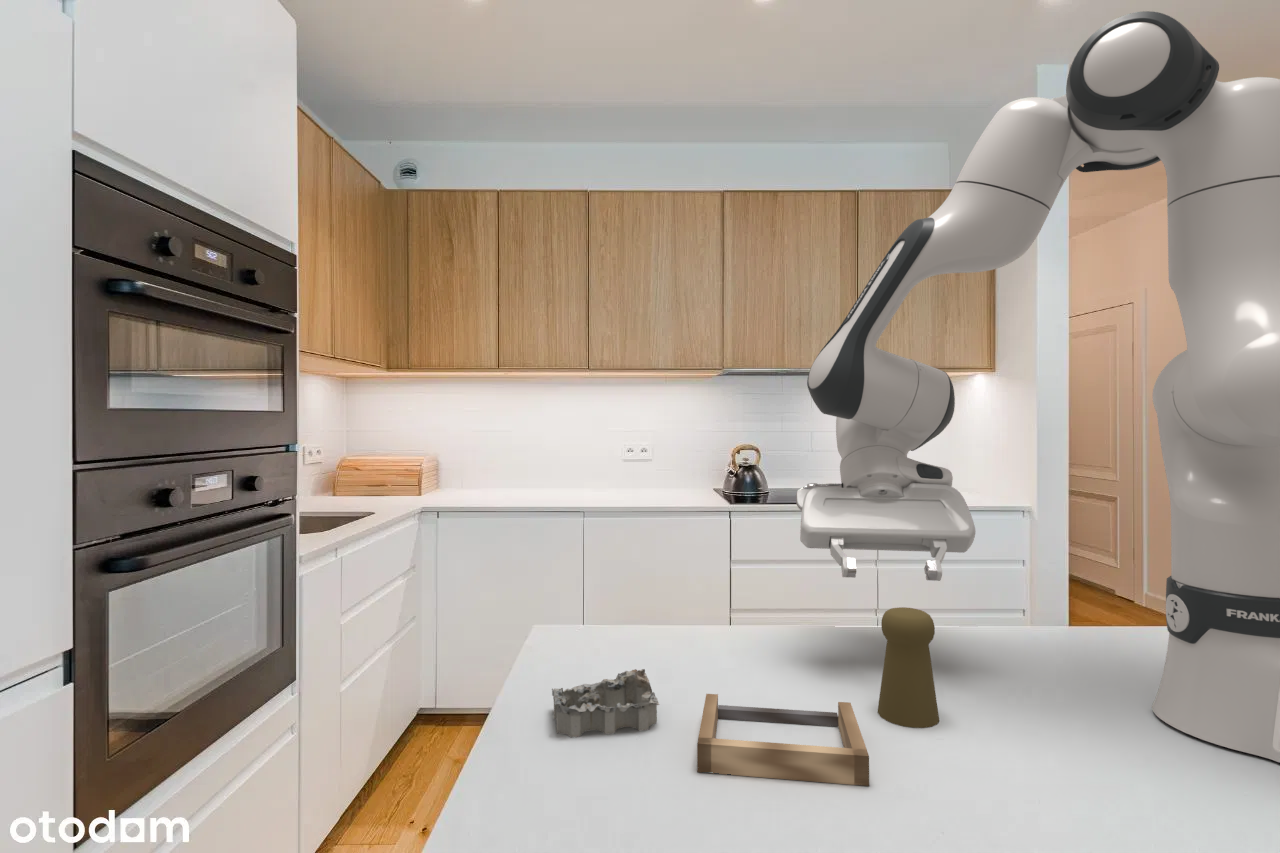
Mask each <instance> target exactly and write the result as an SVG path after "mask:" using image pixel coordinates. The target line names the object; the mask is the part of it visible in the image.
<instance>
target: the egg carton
mask: <svg viewBox="0 0 1280 853" xmlns="http://www.w3.org/2000/svg"><path fill="white" fill-rule="evenodd" d="M551 696H552V697H553V718H554V720H556V726H555V727H556V728H555V730H556V733H557V734H564V735H567V736H569V737H570V738H578V737H579V738H580V737H582V735H583V734H584V733H585V732H589V731H597V732H598V731H599V732H601V733H603V734H604V735H611V734H612V735H613V734H616V731H618V730H619V729H621V728H628V727H629V728H634V729H636V730H637V731H638V732H641V731H648V730H649V727H651V726H652V725H656V724H657V721H658V716H657V715H658V714H657V713H658V709H657V708H658V707H657V706H659V705H660V702H659V700H658V698H657V697H656V693H655V692H654V691H653V689H652V686H651V683H650V679H649V678H648V675H647V673H646V670H645V668H642V669H632V670H629V671H628V670H625V671H624V672H621V673H617V676H616V677H615V679H608V678H603V679H602V680H601V681H599V682H595V683H592V684H590V683H583V684H580V685H577V686H574V687H572V688H566V689H564V688H563V687H561V688H552V687H551Z"/></svg>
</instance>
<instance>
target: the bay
mask: <svg viewBox="0 0 1280 853" xmlns="http://www.w3.org/2000/svg"><path fill="white" fill-rule="evenodd" d="M704 698H705V699H704V703H703V704H704V705H703V708H702V709H703V710H702V714H701V720H700V727H699V732H698V737H697V743H696V746H697V748H696V752H697V755H696V756H697V757H696V758H697V760H696V762H697V763H696V764H697V765H696V767H697V769H696V771H697V773H702V772H713V773H712V774H714V773H719V774H718V775H727V774H731V775H730V776H742V777H751V778H752V777H754V778H767V779H775V780H776V779H779V780H789V781H802V782H816V783H817V782H818V783H826V784H827V783H828V784H839V785H851V786H864V787H870V754H869V752H868V749H867V747H866V742H865V740H864V737H863V734H862V732H861V728H860V726H859V724H858V720H857V717H856V715H855V711H854V708H853V706H852V704H851V702H845V701H838V702H837V709H838V710H837V712H833V711H832V712H831V711H821V710H820V711H819V710H818V711H817V710H803V709H788V708H787V709H785V708H770V707H768V708H767V707H756V706H755V707H754V706H743V705H742V706H741V705H723V704H719V694H718V693H717V694H716V693H706V694H705V697H704ZM719 719H721V720H731V721H732V720H733V721H734V720H735V721H749V722H762V723H763V722H764V723H777V724H778V723H779V724H793V725H794V724H795V725H805V726H807V725H808V726H820V727H821V726H823V727H824V726H825V727H838V728H837V729H838V731H839V735H840V738H841V741H842V742H841V743H842V745H843V747H840V746H839V747H837V746H825V745H807V744H798V743H797V744H795V743H782V742H768V741H767V742H766V741H755V740H754V741H752V740H739V739H729V738H727V739H726V738H716V737H717V730H718V722H719Z"/></svg>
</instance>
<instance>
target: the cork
mask: <svg viewBox="0 0 1280 853" xmlns="http://www.w3.org/2000/svg"><path fill="white" fill-rule="evenodd" d="M881 631H882V635H883V636H884V637H885V640H886V647H885V654H884V660H883V668H882V674H881V675H882V677H881V682H880V688H879V699H878V706H877V714H878V715H879V717H880V718H882V719H883V720H884V721H887V723H891V724H893V725H898V726H901V727H905V728H911V729H925V728H933V727H934V726H936V725H938V724H939V722H940V717H939V716H940V715H939V707H938V702H937V701H938V700H937V695H936V693H937V692H936V686H935V681H934V674H933V673H934V672H933V666H932V658H931V657H932V656H931V653H930V645H929V644H930V643H931V642H932V641H933V640H934V636H935V634H936V632H935V631H936V630H935V623H934V620H933V618H932V616H931V615H930V614H929V613H927V612H926V611H923V610H921V609H918V608H912V607H904V606H903V607H902V606H901V607H892V608H889V609H887V610H885V612H884V613H883V615H882V617H881Z"/></svg>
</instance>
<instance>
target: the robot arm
mask: <svg viewBox="0 0 1280 853" xmlns="http://www.w3.org/2000/svg"><path fill="white" fill-rule="evenodd" d="M1219 71H1220V64H1219V61H1218V60H1217V59H1216V58H1215V57H1214V56H1213V55H1212V54H1211V53H1210V52H1209V51H1208V50H1207V49H1206V48H1205V47H1204V46H1203V45H1202V44H1201V43H1200V41H1199V40H1198V39H1197V38H1196V37H1195V35H1193V34H1192V32H1191V31H1190V30H1189V29H1188V28H1187V27H1186V26H1185V25H1183V24H1182V23H1181V22H1180V21H1178V20H1177V19H1176V18H1174V17H1172V16H1170V15H1168V14H1165V13H1162V12H1158V11H1150V10H1149V11H1147V10H1145V11H1144V10H1143V11H1136V12H1131V13H1127V14H1124V15H1121V16H1120V17H1117V18H1115V19H1112V20H1110V21H1109V22H1107V23H1106V24H1104V25H1103V26H1101V27H1100V28H1099V29H1097V30H1096V31H1095V32H1093V33H1092V34H1091V35H1090V36H1089V37H1088V38H1087V40H1085V42H1084V43H1083V44H1082V46H1081V47H1079V49H1078V51H1077V53H1076V54H1075V56H1074V58H1073V61H1072V62H1071V65H1070V67H1069V69H1068V75H1067V79H1066V86H1065V94H1063V95H1061V96H1058V97H1052V98H1047V97H1042V96H1041V97H1039V96H1033V97H1031V96H1029V97H1024V98H1023V97H1022V98H1018V99H1016V100H1012V101H1010V102H1008V103H1006V104H1005V105H1004V106H1002V107H1001V108H999V110H997V112H996V113H995V114H994V116H993V117H992V119H991V120H990V122H989V123H988V124H987V126H985V129H984V130H983V131H982V133H981V135H980V137H979V138H978V139H977V141H976V143H975V144H974V146H973V147H972V149H971V151H970V153H969V155H968V156H967V158H966V160H965V162H964V165H963V166H962V168H961V170H960V172H959V174H958V177H957V178H956V180H955V184H954V185H953V188H952V189H951V191H950V193H949V194H948V196H947V197H946V199H945V200H944V201H943V202H942V204H941V205H940V206H939V207H938V208H937V209H936V210H935V211H934V212H933V213H932V214H931V215H929V216H928V217H926V218H918V219H916V220H914V221H913V222H911V223H910V224H908V226H907V227H906V228H905V229H904V230H903V231H902V232H901V234H900V235H898V237H897V238H896V240H895V241H894V243H893V244H892V245H891V247H890V248H889V250H888V251H887V252H886V254H885V256H884V257H883V259H882V260H881V262H880V263H879V265H878V266H877V268H876V270H874V273H873V274H872V276H871V277H870V279H869V280H868V282H867V284H866V285H865V287H864V288H863V289H862V291H861V293H860V295H859V296H858V297H857V299H856V301H855V303H854V304H853V306H852V307H851V309H850V310H849V312H848V314H847V315H846V317H845V318H844V319H843V321H842V323H841V324H840V326H839V327H838V328H837V329H836V331H835V332H834V333H833V334H832V336H831V337H830V338H829V340H828V341H827V342H826V343H825V345H824V346H823V347H822V349H821V350H820V351H819V353H818V354H817V356H816V358H815V359H814V361H813V362H812V365H811V367H810V370H809V372H808V376H807V380H806V382H807V383H806V385H807V386H806V387H807V389H808V392H809V394H810V396H811V399H812V402H813V403H814V405H815V406H816V407H817V409H818V410H819V411H820V412H821V413H822V414H823V415H828V416H832V417H835V418H836V419H835V423H836V424H835V436H836V437H835V438H836V445H837V446H836V447H837V451H838V453H839V456H840V457H841V460H840V463H839V473H840V474H839V475H840V481H841V482H840V483H824V484H823V483H818V482H817V483H816V482H811V483H807V484H806V485H805V486H802V487H800V488H799V489H798V490H797V491H796V493H795V501H796V503H795V504H796V507H797V508H798V510H800V511H801V517H800V532H799V534H800V542H801V543H802V545H804V547H806V548H807V549H821V550H822V549H824V550H825V549H827V550H828V549H829V550H830V551H829V552H830V555H831V557H832V558H833V560H834V561H835V562H836V563H837V564H838V565H839V566H840V567H841V568H840V569H841V576H842V578H856V576H857V575H856V574H857V565H856V563H857V562H856V558H855V557H848V556H847V554H846V552H845V551H844V550H856V551H857V550H860V551H861V550H862V551H864V550H865V551H866V550H867V551H894V552H895V551H897V552H900V551H901V552H927V553H928V552H929V553H930V556H931V558H934V559H933V560H928V559H927V560H926V562H925V566H924V568H923V569H924V574H925V579H926V581H934V582H935V581H936V582H937V581H938V582H939V581H940V582H941V580H942V576H943V569H942V563H943V561H944V559H945V556H946V553H959V554H961V553H962V554H963V553H966V552H967V551H968V550H969V549H970V548H971V546H972V545H973V543H974V541H975V536H976V526H975V522H974V520H973V516H972V514H971V511H970V509H969V506H968V504H967V502H966V500H965V498H964V496H963V494H962V493H961V492H960V491H959V490H958V489H957V488H954V487H953V479H954V478H953V474H952V472H951V470H950V469H949V468H946V467H942V466H937V465H933V464H929V463H925V462H923V461H922V462H921V461H919V460H915V459H913V458H909V457H908V454H909V452H910V451H912V452H913V451H916V450H918V449H919V448H921V447H923V446H924V445H926V444H927V443H928V442H930V441H931V440H933V439H934V438H936V437H938V436H939V435H940V434H942V433H943V431H944V430H945V429H946V428H947V426H949V424H950V423H951V421H952V419H953V417H954V416H953V415H954V413H955V404H956V403H955V402H956V400H955V398H956V397H955V389H954V385H953V382H952V380H951V378H950V376H949V374H948V373H947V371H945V370H941V369H939V368H936V367H933V366H931V365H928V364H925V363H924V362H921V361H919V360H914V359H912V358H908V357H907V358H906V357H904V356H901V355H898V354H895V353H892V352H889V351H886V350H884V349H881V348H879V347H877V343H878V341H879V339H880V338H881V336H882V334H883V333H884V331H885V330H886V328H888V327H887V326H888V325H889V324H890V322H891V321H892V319H893V317H894V316H895V314H896V313H897V311H898V310H899V308H900V307H901V305H902V304H903V302H904V301H905V299H906V298H907V297H908V295H909V293H910V292H911V291H912V290H913V289H914V287H916V285H918V284H919V283H921V282H922V281H924V280H926V279H928V278H930V277H934V276H939V275H945V274H964V273H965V274H967V273H970V274H971V273H982V272H989V271H994V270H996V269H999V268H1002V267H1005V266H1008V265H1009V264H1012V263H1013V262H1015V261H1016V260H1018V259H1019V258H1020V257H1022V256H1023V255H1025V254H1026V253H1027V251H1028V250H1029V249H1030V247H1031V246H1032V245H1033V244H1034V242H1035V241H1036V239H1037V237H1038V236H1039V234H1040V232H1041V230H1042V228H1043V226H1044V224H1045V222H1046V220H1047V218H1048V216H1049V213H1050V211H1051V210H1052V207H1053V206H1054V203H1055V202H1056V200H1057V197H1058V195H1059V194H1060V191H1061V189H1062V187H1063V185H1064V183H1066V180H1067V179H1068V177H1069V176H1070V175H1071V173H1072V172H1073V171H1074V170H1077V171H1078V172H1080V173H1092V172H1103V171H1132V170H1137V169H1138V170H1139V169H1142V168H1146V167H1150V166H1153V165H1155V164H1157V163H1159V162H1160V161H1161V163H1162V164H1163V166H1164V170H1165V175H1166V190H1167V191H1166V192H1167V193H1166V194H1167V195H1166V198H1167V200H1166V202H1167V203H1166V206H1167V207H1166V208H1167V209H1166V212H1167V252H1168V253H1167V256H1168V258H1167V261H1168V267H1167V268H1168V270H1167V271H1168V284H1169V287H1170V288H1171V290H1172V291H1173V294H1174V295H1175V298H1176V301H1177V305H1178V307H1179V308H1178V310H1179V312H1180V316H1181V321H1182V325H1183V329H1184V334H1185V339H1186V341H1185V342H1186V350H1185V351H1183V352H1180V353H1179V354H1177V355H1176V356H1174V357H1173V358H1172V359H1171V360H1170V361H1169V362H1168V363H1167V364H1166V365H1165V367H1163V369H1162V370H1161V371H1160V373H1159V374H1158V376H1157V377H1156V381H1155V383H1154V384H1153V389H1152V402H1153V408H1154V409H1155V412H1156V417H1157V425H1158V426H1157V427H1158V434H1159V441H1160V447H1161V454H1162V460H1163V466H1164V472H1165V476H1166V480H1167V485H1168V486H1167V488H1168V492H1169V500H1170V501H1169V502H1170V540H1171V541H1170V547H1171V550H1170V551H1171V554H1170V556H1171V559H1170V561H1171V562H1170V564H1171V575H1169V576H1168V577H1167V578H1166V584H1165V586H1166V588H1165V620H1166V621H1165V622H1166V628H1167V629H1166V630H1167V632H1168V642H1167V649H1166V656H1165V661H1164V666H1163V671H1162V676H1161V680H1160V684H1159V688H1158V690H1157V693H1156V696H1155V699H1154V701H1153V703H1152V705H1151V709H1152V712H1153V714H1154V715H1155V716H1157V717H1158V718H1159V719H1160V720H1162V721H1163V722H1165V723H1166V724H1167V725H1169V726H1171V727H1173V728H1175V729H1176V730H1178V731H1181V732H1183V733H1185V734H1187V735H1189V736H1192V737H1195V738H1198V739H1200V740H1202V741H1205V742H1208V743H1211V744H1214V745H1218V746H1220V747H1225V748H1228V749H1231V750H1235V751H1239V752H1243V753H1246V754H1250V755H1254V756H1257V757H1258V756H1259V757H1262V758H1265V759H1269V760H1271V761H1274V762H1277V763H1280V78H1277V77H1268V76H1267V77H1266V76H1265V77H1264V76H1255V77H1248V78H1247V77H1246V78H1245V77H1244V78H1240V79H1236V80H1231V81H1225V82H1224V81H1219V80H1217V78H1218V75H1219ZM1082 165H1083V166H1082Z"/></svg>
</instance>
